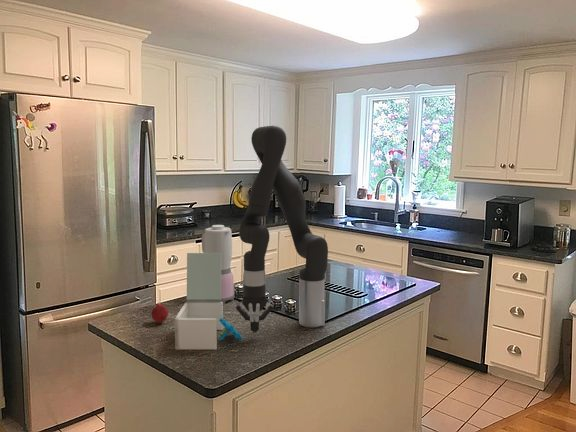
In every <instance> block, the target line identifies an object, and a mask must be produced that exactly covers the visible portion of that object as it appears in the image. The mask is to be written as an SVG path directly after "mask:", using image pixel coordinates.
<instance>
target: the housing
mask: <svg viewBox="0 0 576 432" xmlns="http://www.w3.org/2000/svg"><path fill="white" fill-rule="evenodd" d="M223 307H224V304H223V302H187V301H185V302H184V304H183V306H182V307H181V308H180V310H179V312H178V313H177V315H176V317H175V318H174V319H173V320H174V344H175V345H174V347H175V348H174V349H175V350H217V349H218V344H217V341H218V340H217V339H218V337H217V335H218V333H217V331H224V325H222V324H221V322H220V321H219V320H220V319H221V318H223V319H224V308H223Z"/></svg>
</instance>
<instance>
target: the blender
mask: <svg viewBox="0 0 576 432" xmlns="http://www.w3.org/2000/svg"><path fill="white" fill-rule="evenodd" d="M232 237H233V236H232V229H231V228H230V227H225V225H224V224H213V225H211V227H207V228H205V229H204V231H203V232H202V234H201V251H202V253H221V302H223V305H225V304H226V302H227V301H230V300H231V301H232V302H233V301H234V299H235V293H234V288H235V287H234V282H235V281H234V274H233V272H232V269H231V263H232V256H233V238H232Z"/></svg>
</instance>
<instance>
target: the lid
mask: <svg viewBox="0 0 576 432" xmlns="http://www.w3.org/2000/svg"><path fill="white" fill-rule="evenodd" d="M186 302H221V253H203V252H187V253H186Z"/></svg>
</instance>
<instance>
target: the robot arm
mask: <svg viewBox="0 0 576 432" xmlns="http://www.w3.org/2000/svg"><path fill="white" fill-rule="evenodd" d="M251 134H252V135H251V145H252V147H253V150H254V152H255V154H256V156H257V157H258V159H259V161H260V163H261V166H260V169H259V171H258V173H257V175H256V177H255V179H254V181H253V183H252V186H251V188H250V192H249V198H248V205H247V209H246V211H245V214H244V216H243V218H242V221H241V223H240V225H239V227H238V233H239V234H238V235H239V239H240V240H241V241H242V242H243V243H245V244H248V245H251V249H250V250H248V251H246V252H245V253H244V255H243V276H242V289H243V290H242V292H243V294H242V296H243V297H242V300H241V302H240V303H237V304H236V307H235V308H236V311H237V312H238V313H239V314H240V315H241V316H242V319H244V320H245V321H248V322H250V325H249V326H250V331H252V333H258V331H259V330H260V322H261V321H264V320H265V319H266V318H267V316H268V315H270V312H271V311H272V310H273V308H274V304H272V303H270V302H268V299H267V297H266V294H267V292H266V290H267V289H266V288H267V285H266V282H267V279H266V277H267V276H266V268H265V267H266V258H265V256H266V254H267V251H268V247H269V243H270V232H269V228H268V227H267V226H266V225H264V224H261V223H259V222H260V219H261V218H264V217H267V216H268V215H269V212H270V211H269V210H270V206H271V205H270V204H271V199H272V192H273V191H274V195H275V198H276V201H277V202H278V204H279V208H280V209H281V211H282V213H283V216H284V219H285V221H286V223H287V226H288V228H289V231H290V235H291V239H292V242H293V245H294V249H295V251H296V252H297V254H298V256H300V257H301V258H304V259H305V267H304V268H302V269H300V270H299V273H298V275H299V276H298V277H299V278H298V279H299V281H298V282H299V283H298V284H299V287H298V289H299V291H298V292H299V293H298V324H299V325H300V326H303V327H305V328H319V327H325V325H326V324H325V323H326V322H325V315H326V314H325V310H326V308H325V307H326V304H325V303H326V301H325V300H326V299H325V281H326V279H325V275H326V272H327V269H328V259H329V245H328V243H327V240H326V239H325V238H324V237H322V236H319V235H316V234H313V232H312V231H311V229H310V227H309V225H308V222H307V219H306V209H307V207H306V206H307V204H306V198H305V195H304V192H303V190H302V186H301V185H300V182H299V181H298V179H297V178H296V177H295V176H294V175H293V173H292V172H291V170H290V169H288V168H287V166H286V165H285V164H284V162H283V160H282V158H283V155H284V152H285V150H286V145H287V134H286V131H285V130H284V128H282V127H281V126H279V125H266V126H260V127H257V128H255V129H254V130H253V131H252V133H251ZM264 307H265V310H264ZM244 308H245V309H246V310H245V309H244ZM262 310H264V311H263V312H262V313H261V314H260V312H261V311H262ZM247 311H248V313H249V314H248V313H247ZM254 313H255V314H254Z"/></svg>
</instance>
